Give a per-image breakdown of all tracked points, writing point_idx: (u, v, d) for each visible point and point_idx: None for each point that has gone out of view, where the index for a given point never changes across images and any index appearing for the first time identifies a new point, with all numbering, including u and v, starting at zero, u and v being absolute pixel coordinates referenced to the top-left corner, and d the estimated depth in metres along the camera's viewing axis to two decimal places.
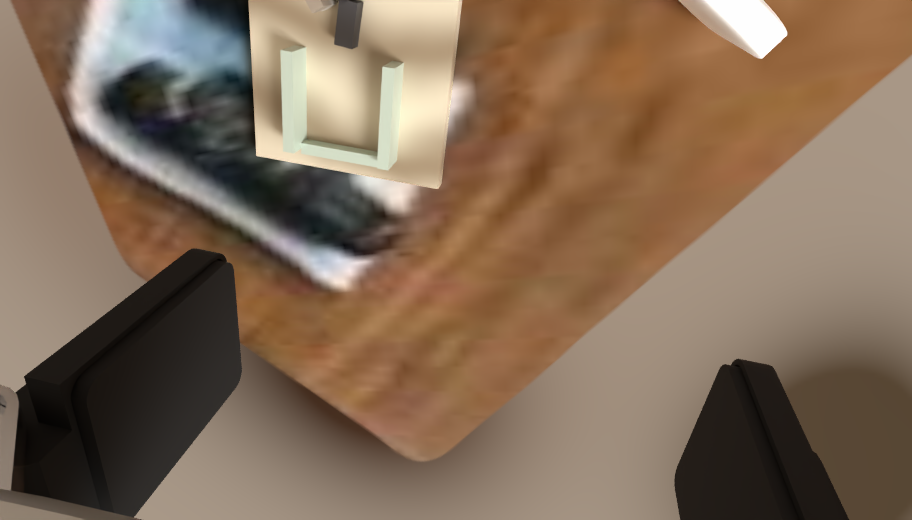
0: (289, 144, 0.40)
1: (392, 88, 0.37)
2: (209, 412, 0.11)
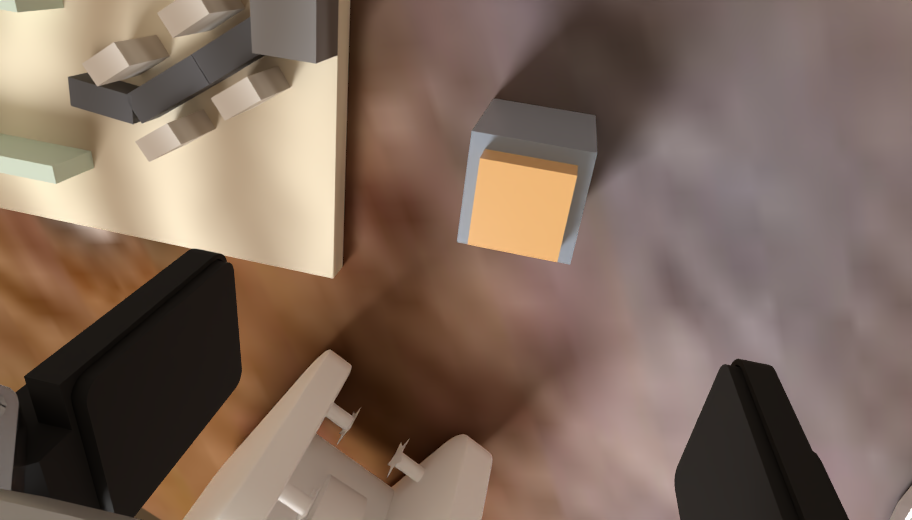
0: None
1: (29, 177, 0.25)
2: (209, 412, 0.11)
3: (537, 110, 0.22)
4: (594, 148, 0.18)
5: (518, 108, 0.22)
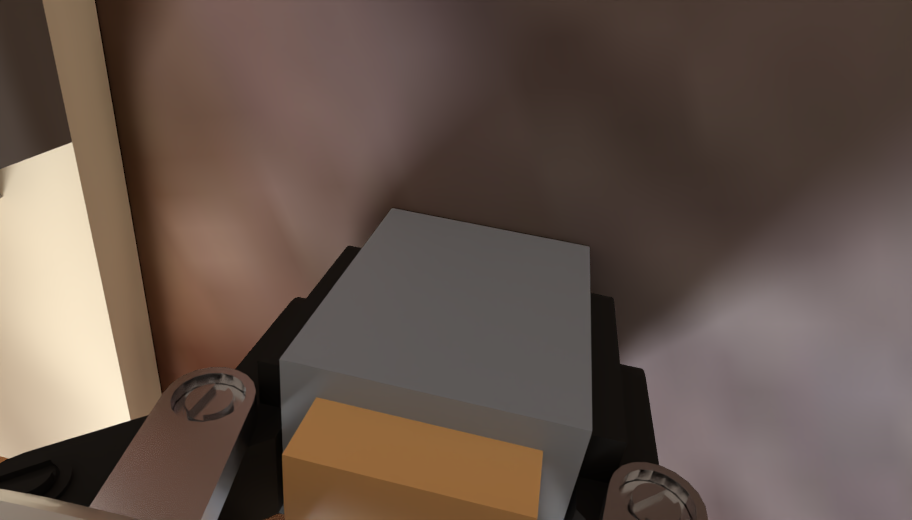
0: None
1: None
2: None
3: (471, 243, 0.11)
4: (584, 404, 0.07)
5: (432, 240, 0.11)
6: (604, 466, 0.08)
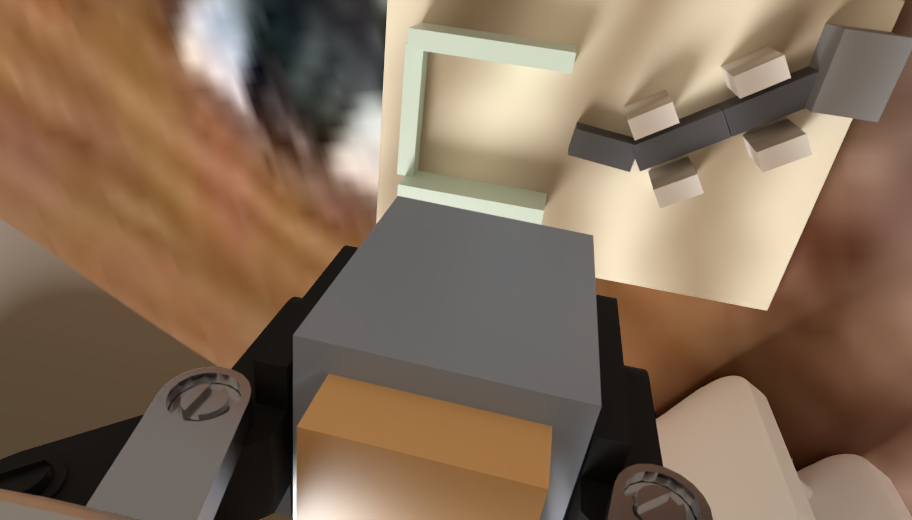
0: (421, 41, 0.24)
1: None
2: None
3: (477, 230, 0.11)
4: (593, 381, 0.08)
5: (439, 226, 0.11)
6: (609, 467, 0.08)
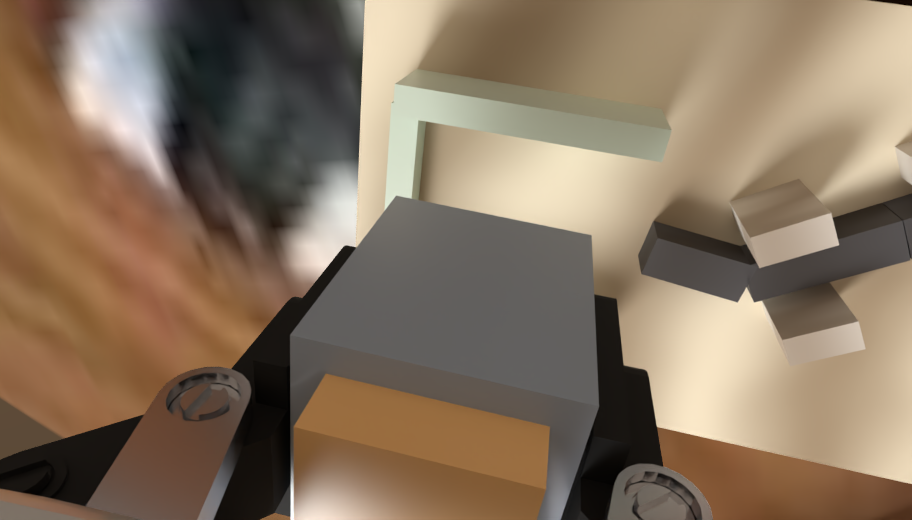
0: (415, 105, 0.15)
1: None
2: None
3: (476, 229, 0.11)
4: (591, 381, 0.08)
5: (437, 226, 0.11)
6: (609, 468, 0.08)
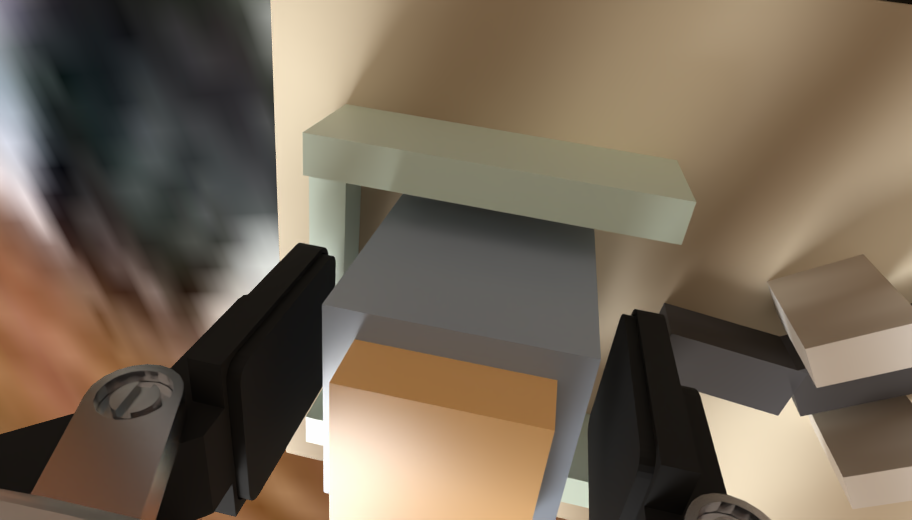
0: (334, 161, 0.10)
1: None
2: (311, 397, 0.12)
3: (485, 212, 0.12)
4: (593, 339, 0.08)
5: (449, 210, 0.12)
6: (675, 497, 0.08)
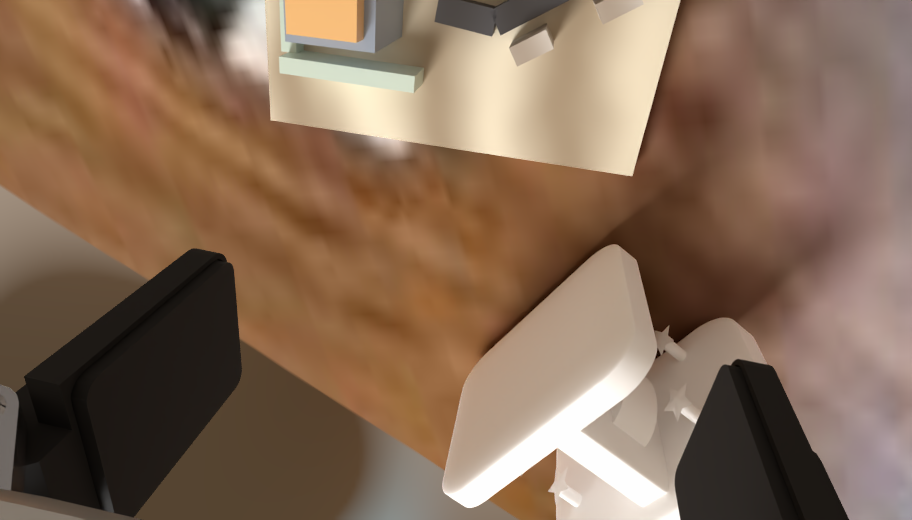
0: None
1: (389, 87, 0.28)
2: (209, 412, 0.11)
3: None
4: None
5: None
6: None
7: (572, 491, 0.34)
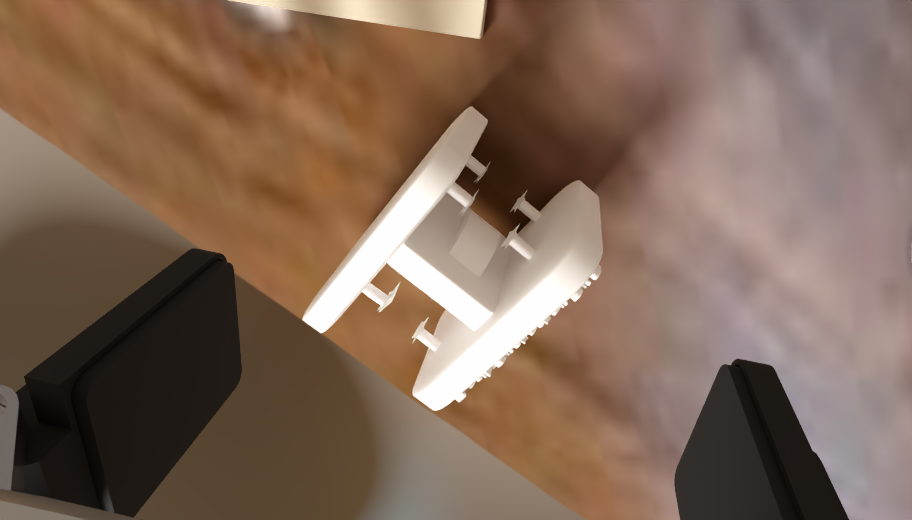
0: None
1: None
2: (209, 412, 0.11)
3: None
4: None
5: None
6: None
7: (431, 336, 0.37)
